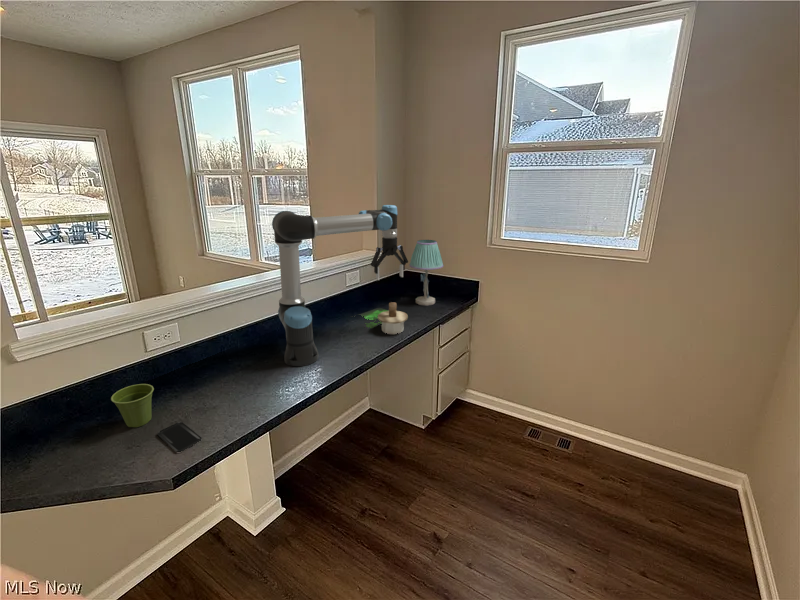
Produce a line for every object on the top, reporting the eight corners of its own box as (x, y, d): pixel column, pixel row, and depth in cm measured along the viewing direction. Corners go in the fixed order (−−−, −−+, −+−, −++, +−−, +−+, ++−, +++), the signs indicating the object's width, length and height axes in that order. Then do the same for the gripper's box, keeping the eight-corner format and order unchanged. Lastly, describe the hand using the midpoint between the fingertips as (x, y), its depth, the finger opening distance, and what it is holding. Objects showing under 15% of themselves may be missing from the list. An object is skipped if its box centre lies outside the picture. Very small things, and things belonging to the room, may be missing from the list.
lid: (386, 325, 195) (385, 310, 193) (372, 315, 209) (372, 301, 206) (413, 320, 202) (413, 305, 200) (398, 310, 216) (398, 297, 213)
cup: (388, 335, 201) (388, 323, 198) (379, 328, 210) (378, 316, 208) (406, 331, 206) (406, 319, 203) (397, 324, 215) (397, 313, 213)
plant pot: (133, 436, 125) (126, 406, 121) (110, 426, 129) (102, 397, 125) (167, 416, 135) (161, 388, 131) (145, 408, 139) (138, 380, 136)
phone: (180, 421, 131) (202, 438, 122) (181, 423, 131) (203, 441, 123) (155, 432, 125) (177, 452, 116) (156, 435, 125) (177, 455, 117)
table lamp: (406, 297, 261) (407, 238, 248) (438, 296, 263) (440, 238, 250) (411, 308, 240) (412, 244, 227) (445, 307, 242) (448, 244, 230)
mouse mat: (369, 330, 208) (369, 328, 208) (344, 319, 223) (344, 318, 223) (404, 317, 227) (404, 315, 227) (379, 308, 241) (379, 306, 241)
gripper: (369, 239, 184) (370, 282, 190) (415, 236, 195) (414, 276, 201) (363, 237, 190) (364, 279, 197) (407, 234, 201) (407, 273, 208)
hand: (389, 278), depth 199 cm, fingers open, 13 cm apart
